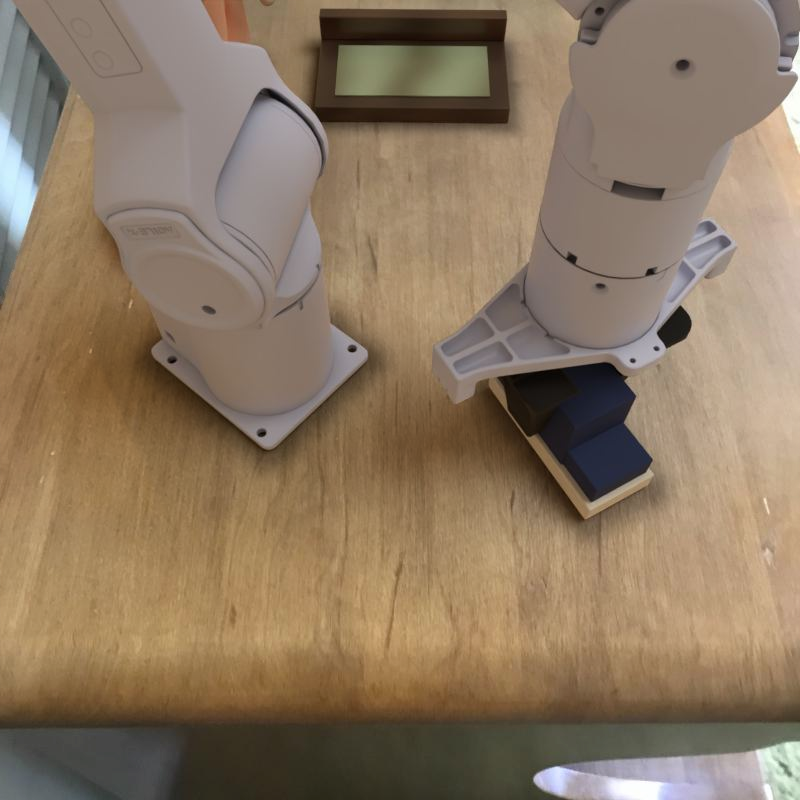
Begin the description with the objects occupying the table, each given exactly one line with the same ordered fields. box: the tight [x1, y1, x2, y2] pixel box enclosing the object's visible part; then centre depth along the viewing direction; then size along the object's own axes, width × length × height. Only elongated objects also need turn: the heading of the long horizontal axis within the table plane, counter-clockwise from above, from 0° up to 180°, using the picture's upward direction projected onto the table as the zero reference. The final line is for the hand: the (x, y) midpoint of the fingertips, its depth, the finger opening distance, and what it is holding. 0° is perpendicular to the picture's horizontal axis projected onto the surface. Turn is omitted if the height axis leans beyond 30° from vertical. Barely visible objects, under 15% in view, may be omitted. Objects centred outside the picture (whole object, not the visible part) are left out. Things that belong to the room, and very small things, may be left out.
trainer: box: [488, 362, 655, 520], centre depth 42 cm, size 9×4×5 cm, turn 29°
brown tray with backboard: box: [314, 8, 511, 124], centre depth 57 cm, size 13×8×3 cm, turn 89°
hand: (556, 403), depth 43 cm, fingers closed on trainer, 3 cm apart
